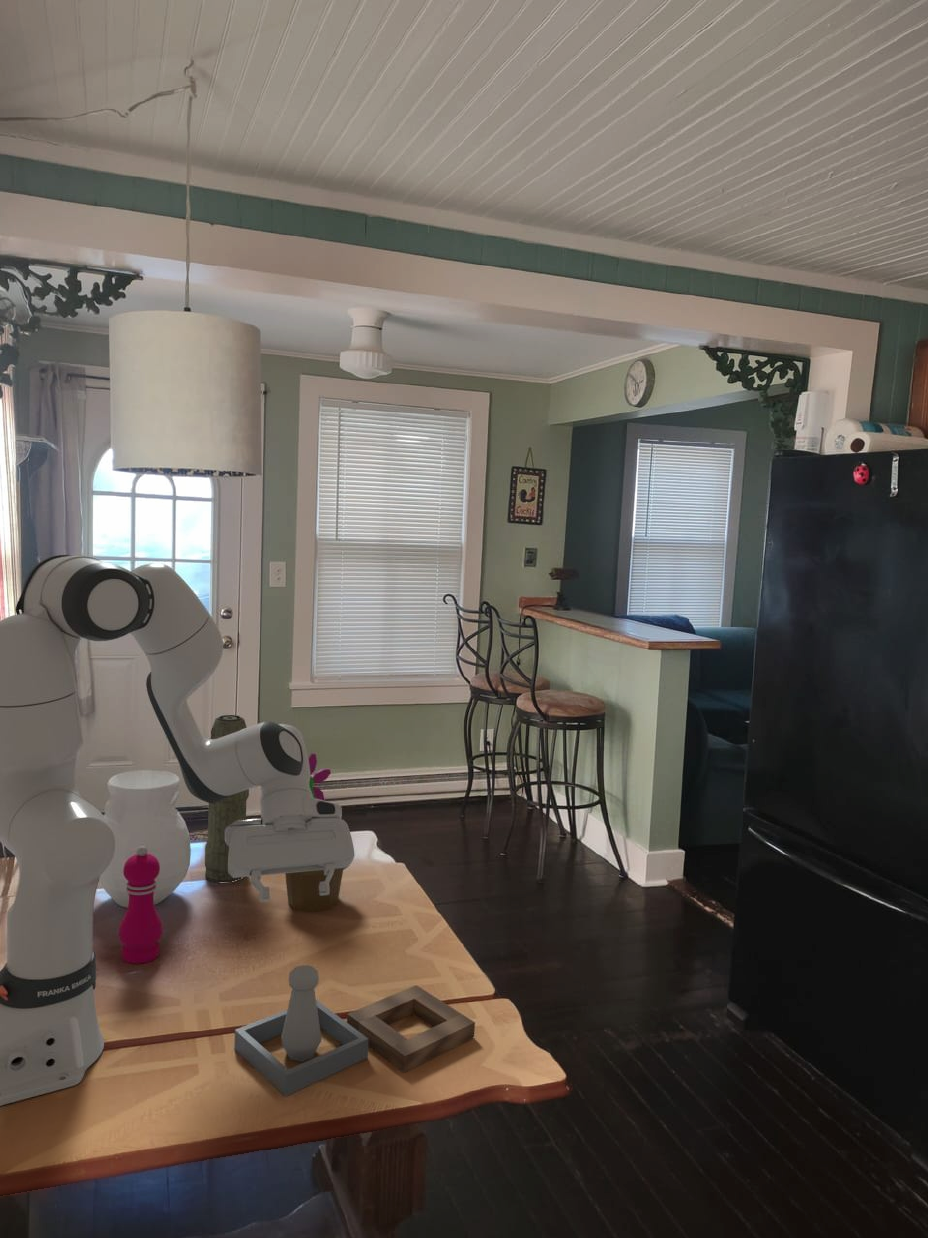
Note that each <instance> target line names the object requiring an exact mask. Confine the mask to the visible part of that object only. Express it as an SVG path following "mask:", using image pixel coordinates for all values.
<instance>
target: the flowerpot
mask: <svg viewBox="0 0 928 1238" xmlns="http://www.w3.org/2000/svg"><path fill="white" fill-rule="evenodd" d="M308 759H309V766H310V781H309V787H310V790H311V792H312V795H313V798H316V799H320V800H324V801H325V795H324V792H323V791H322V790H321V789H320V788H319V787H317V786H314V784H315V783H316V784H320V783H322V782H323V781H326V780H327V779H328V778H329V776H330V775H331V774H332V772H331V769H329V768H321V769H320V770H318V771H316V766H317V765H318V764H317V763H318V761H317V755H316V753H311V754H310V755H309V756H308ZM315 771H316V772H315ZM312 774H313V776H312ZM347 868H349V867H347ZM347 868H338V869H334V873H333V875H332V878H331V880H330V882H329V887H330V893H329V895H322V896H320V895H319V892H320V891H319V883H320V882H323V881H325V880H326V877H327V875H324V870H315V871H304V872H293V873H284V874H285V884H286V895H287V903H288V902H289V903H288V904H289V905H290V906H291V907H292V908H294V909H296V910H300V911H303V912H320V911H322V912H323V911H326V910H330V909H331V908H334V907H335V906H337V904H338V902H339V897H340V891H341V886H342V881H343V880H342V879H343V874H344V870H345V869H347Z"/></svg>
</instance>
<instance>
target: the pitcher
mask: <svg viewBox="0 0 928 1238" xmlns="http://www.w3.org/2000/svg"><path fill="white" fill-rule="evenodd" d="M180 782H181V780H180V777H179V776H178V775H176V774H175V773H173V772H170V771H166V770H165V771H163V770H154V769H141V770H139V769H138V770H137V769H136V770H129V771H128V770H127V771H123V772H120V773H116V774H115V775H113V776H111V777H110V778H109V780H108V782H107V783H106V785H107V790H108V791H109V794H110V797H109V799H108V800H107V801H106V802H105V806H104V808H103V809H104V814H103V816H104V818H105V819H106V821H107V822H108V824H109V826H110V828H111V830H112V832H113V834H114V837H115V852H114V855H113V858H112V860H111V862H110V864H109V866H108V867H107V869H106V870H105V871H104V872H103V873H102V874H101V875H100V879H99V882H98V884H99V885H100V886H101V887H102V889H104V891H105V892H106V893H107V895H108V896H110V897H111V898H112V900H113V901H114V902H115V903H116V904H117V905H118V906H120V907H122V908H126V909H127V908H128V905H129V893H128V892H127V891H126V888H127V886H126V883H127V882H128V880H127V879H126V878H125V877H124V874H123V870H124V865H125V863H126V861H127V860H128V859H129V858H130V857H132V856H133V855H136V854H137V849H138V848H139V847H140V846H145V847H146V848H147V854H151V855H153V856H154V857H156V858H157V860H158V862H159V865H160V871H159V874H158V876H157V877H156V878H155V880H156V881H157V883H156V887H157V888H156V890H155V891H154V895H153V899H154V906H155V905H158V904H160V903H161V902H163V900H165V899H166V898H168V897H169V896H170V895H171V894H172V893H173V892H174V891H176V889H177V888H178V887H179V886H180V885H181V883H182V882H184V879H185V877H186V876H187V873H188V872H189V868H190V865H191V855H192V852H191V851H192V849H191V840H190V833H189V830H188V826H187V824H186V821H185V819H184V818H183V816H182V815H181V813H180V812H179V811H178V809H177V808H175V805H176V803H177V800H178V798H179V793H180V792H179V791H180V789H179V788H180Z"/></svg>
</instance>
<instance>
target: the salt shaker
mask: <svg viewBox="0 0 928 1238" xmlns="http://www.w3.org/2000/svg"><path fill="white" fill-rule="evenodd" d="M319 978H320V977H319V971H318V970H317V969H316V968H315V967H314V966H311V965H308V964H306V965H304V964H303V965H298V966H295V967H293V969H292V970H290V972H289V975H288V983H289V984H288V985H289V987H290V989H291V994H290V998H289V1001H288V1007H287V1009H288V1010H287V1009H286V1010H287V1014H286V1019H285V1023H284V1028H283V1032H282V1034H281V1036H280V1037H281V1043H282V1044H281V1045H282V1048H283V1049H284V1051H285V1052H286V1054H287V1056H288V1058H289V1060H290V1061H294V1062H295V1061H297V1062H301V1063H304V1062H307V1061H309V1060H311V1059H313V1058H314V1057H315V1054H316V1051H317V1049H318V1048H319V1045H320V1044H321V1043H322V1034H321V1028H320V1025H319V1018H318V1011H317V1003H316V1000H317V997H316V990H315V989H316V987H317V986H318V984H319V980H320V979H319Z"/></svg>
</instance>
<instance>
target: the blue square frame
mask: <svg viewBox="0 0 928 1238" xmlns="http://www.w3.org/2000/svg"><path fill="white" fill-rule="evenodd" d="M316 1003H317V1011H318V1018H319V1025H320V1030H323V1031H324V1032H325V1033H326V1034H328V1035H329V1036H331V1038H333V1039H334V1040H335V1041H336V1042H338V1043H339V1044H341V1046H338V1047H336V1048H334V1049H332V1050H329V1051H327V1052H325V1053H322V1054H320V1055H318V1056H316V1057H313V1058H311V1059H308V1060H306V1061H303V1062H301V1063H300V1064H298V1065H296V1066H294V1067H293V1066H292V1067H291V1068H288V1067H286V1066H285V1065H284V1064H283V1063H282V1062H281V1061H280V1060H279V1059H278V1058H276V1057H275V1056H274V1055H273V1054H272V1053H271V1052H270V1051H269V1050H267V1049H266V1048H265V1047H264V1046H263V1045H262V1044H261V1043H263V1042H266V1041H268V1040H272V1039H273V1038H275V1037H278V1036H280V1035H281V1036H282V1032H283V1028H284V1023H285V1019H286V1014H287V1010H288V1008H287V1009H285V1010H282V1011H279V1012H277V1013H274V1014H271V1015H269V1016H266V1017H263V1018H262V1019H259V1020H257V1021H253V1022H251V1023H249V1024H246V1025H243V1026H241V1027H239V1028H236V1029H234V1045H233V1046H234V1047H233V1048H234V1050H235V1052H237V1053H238V1054H239V1055H240V1056H241V1057H243V1058H244V1060H246V1061H247V1062H248V1063H249V1064H250V1065H251V1066H252V1067H253V1068H255V1070H257V1071H258V1072H259V1073H260V1074H261V1075H262V1076H263V1077H264V1078H265V1079H266V1080H267V1081H268V1082H270V1084H271V1085H273V1086H274V1087H275V1088H276V1089H277V1090H278V1091H279V1092H280V1093H281V1094H282V1095H283V1096H285V1097H288V1096H290V1095H291V1094H294V1093H296V1092H298V1091H300V1090H302V1089H304V1088H306V1087H308V1086H310V1085H313V1084H315V1083H317V1082H319V1081H321V1080H324V1079H326V1078H328V1077H330V1076H332V1075H335V1074H336V1073H339V1072H340V1071H343V1070H346V1069H347V1068H349V1067H351V1066H354V1065H356V1064H358V1063H360V1062H362V1061H365V1060H366V1059H368V1058H369V1045H368V1041H369V1039H368V1038H367V1037H365V1036H364V1035H363V1034H361V1033H360V1032H359V1031H357V1030H356V1029H355V1028H353V1027H352V1026H351V1025H349V1024H348V1023H347V1021H346V1020H344V1019H343V1018H341V1017H340V1016H338V1015H337V1014H336V1013H335V1012H333V1011H332V1010H331V1009H329V1008H328V1007H327V1006H325V1005H324V1004H323V1003H321V1002H320V1001H318V1000H317V999H316Z"/></svg>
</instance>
